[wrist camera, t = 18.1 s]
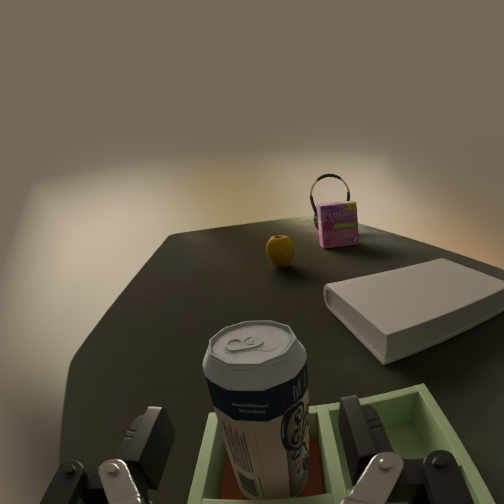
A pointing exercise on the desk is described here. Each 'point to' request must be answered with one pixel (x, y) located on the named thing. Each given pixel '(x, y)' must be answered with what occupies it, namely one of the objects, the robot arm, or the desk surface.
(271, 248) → the apple
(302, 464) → the beer can
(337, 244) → the box
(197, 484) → the compartment tray
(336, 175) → the headphones
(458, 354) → the desk surface
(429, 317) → the book
